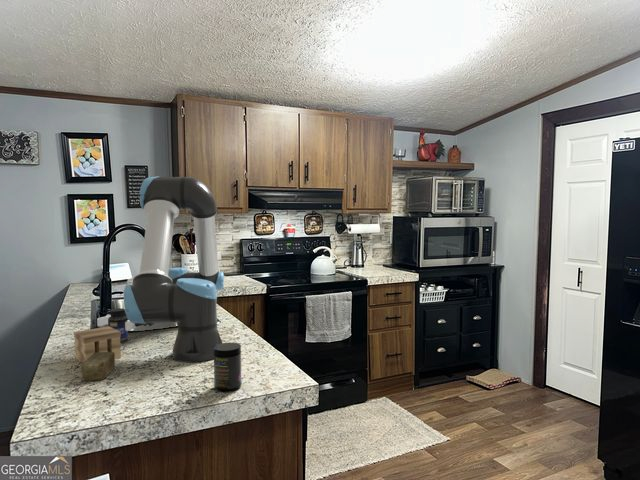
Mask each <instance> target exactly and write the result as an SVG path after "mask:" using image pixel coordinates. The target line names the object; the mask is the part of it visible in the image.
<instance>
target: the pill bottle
mask: <svg viewBox="0 0 640 480" xmlns="http://www.w3.org/2000/svg"><path fill="white" fill-rule="evenodd" d="M124 313H125V308H123V307H122V308H121V307H120V308H113V309H110V310H109V315H111V317H109V318H108V326H109V327H111V328H113V329H116V330H118V331H120V332H121V337H120V344H122V343H125V342H127V341H128V340H129V332H128V331H129V330H127V331H126V330H125V322H128V321H129V320H127V316H125V315H124Z"/></svg>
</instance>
